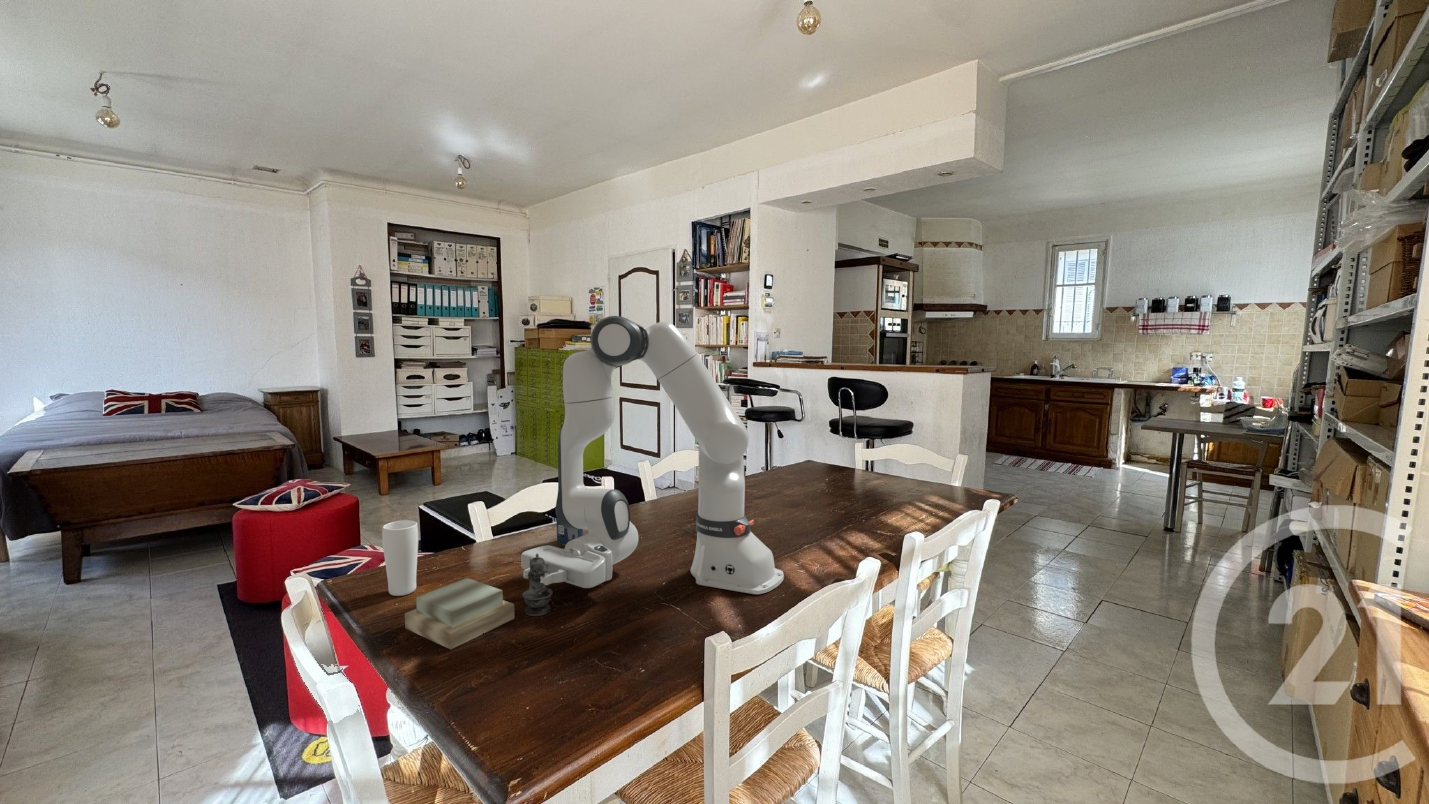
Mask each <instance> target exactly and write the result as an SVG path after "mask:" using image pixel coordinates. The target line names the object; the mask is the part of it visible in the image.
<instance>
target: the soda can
mask: <svg viewBox="0 0 1429 804" xmlns="http://www.w3.org/2000/svg"><path fill="white" fill-rule="evenodd" d="M583 535H584V529H583V530H569V529H566V528H564V527H563V526H562V525H561V524H560V522H559V520H558V518H557V517H556V540H557V541H558V543H559V544H560V545H561V544H562V545H563V546H566V544H567V543H568V542H569V541H571V540H573V539H576V538H578V537H581V536H583Z"/></svg>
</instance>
